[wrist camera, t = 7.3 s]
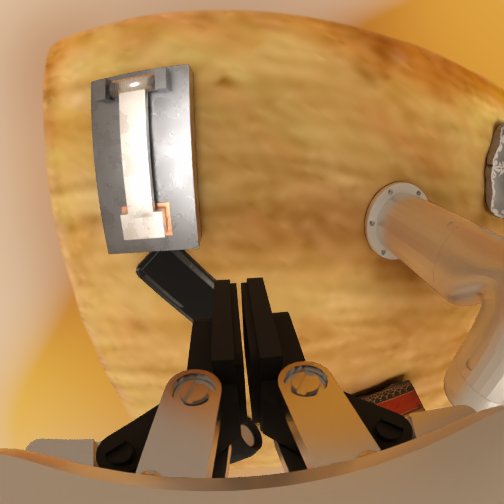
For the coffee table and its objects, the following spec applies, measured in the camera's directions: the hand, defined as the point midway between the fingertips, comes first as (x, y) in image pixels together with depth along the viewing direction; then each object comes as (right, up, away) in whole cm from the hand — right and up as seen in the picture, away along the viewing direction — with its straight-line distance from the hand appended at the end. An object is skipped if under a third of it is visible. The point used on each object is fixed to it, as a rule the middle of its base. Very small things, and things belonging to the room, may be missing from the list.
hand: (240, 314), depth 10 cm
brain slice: (+52, +19, +29) cm, 63 cm away
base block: (-13, +14, +24) cm, 31 cm away
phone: (-9, -3, +33) cm, 34 cm away
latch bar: (-12, +13, +19) cm, 26 cm away
